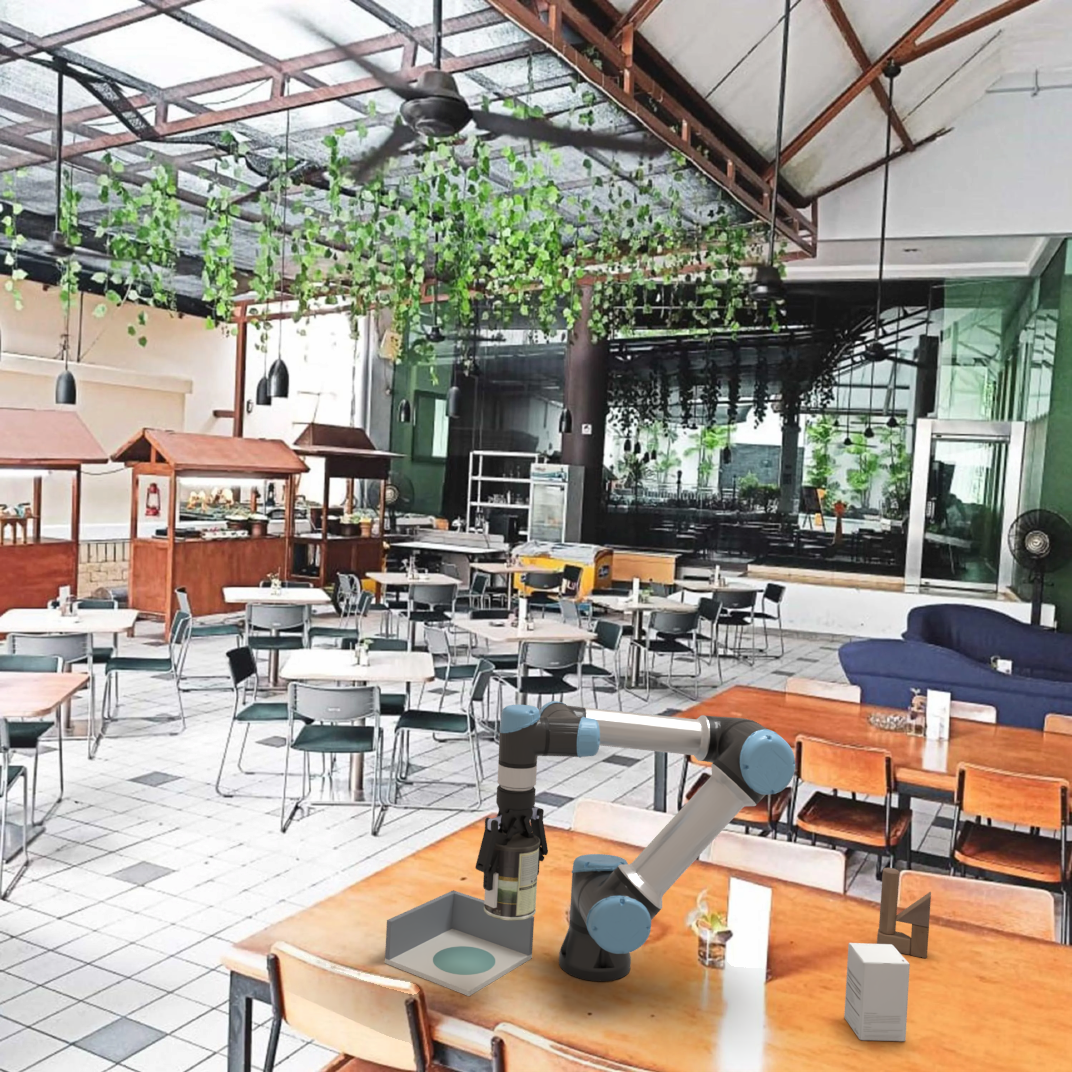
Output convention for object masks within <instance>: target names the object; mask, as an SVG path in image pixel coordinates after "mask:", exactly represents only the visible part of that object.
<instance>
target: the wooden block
mask: <svg viewBox="0 0 1072 1072" xmlns="http://www.w3.org/2000/svg"><path fill="white" fill-rule="evenodd" d="M899 883H900V871H899V870H898V869H896V868H894V867H884V868H883V869H882V876H881V893H880V907H879V921H878V922H879V923H878V925H879V926H878V929H877V934H876V936H877V937H876V944H892V945H893V946H894V947H895V948H896V949H897V950H898V952H899V953H900V954H904V955H910V956H913V957H917V958H921V957H922V958H921V959H923V958H924V959H927V958H928V947H929V933H930V917H931V916H930V915H931V904H932V903H931V902H932V898H931V897H932V892H931V891H929V892H927V893H926V894H924V895H923V896H922V897H920V898H919V899H918V900H916V901H915V902H913V903H912V904H911V905H909V906H908V907H906V908H904V909H903V910H902V911H900V913H898V901H899V900H898V898H899V885H900V884H899ZM897 913H898V914H897ZM897 922H899V923H905V924H910V925H911V933H910V936H909V935H907V934H906V933H904V932H901V931H897Z"/></svg>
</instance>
